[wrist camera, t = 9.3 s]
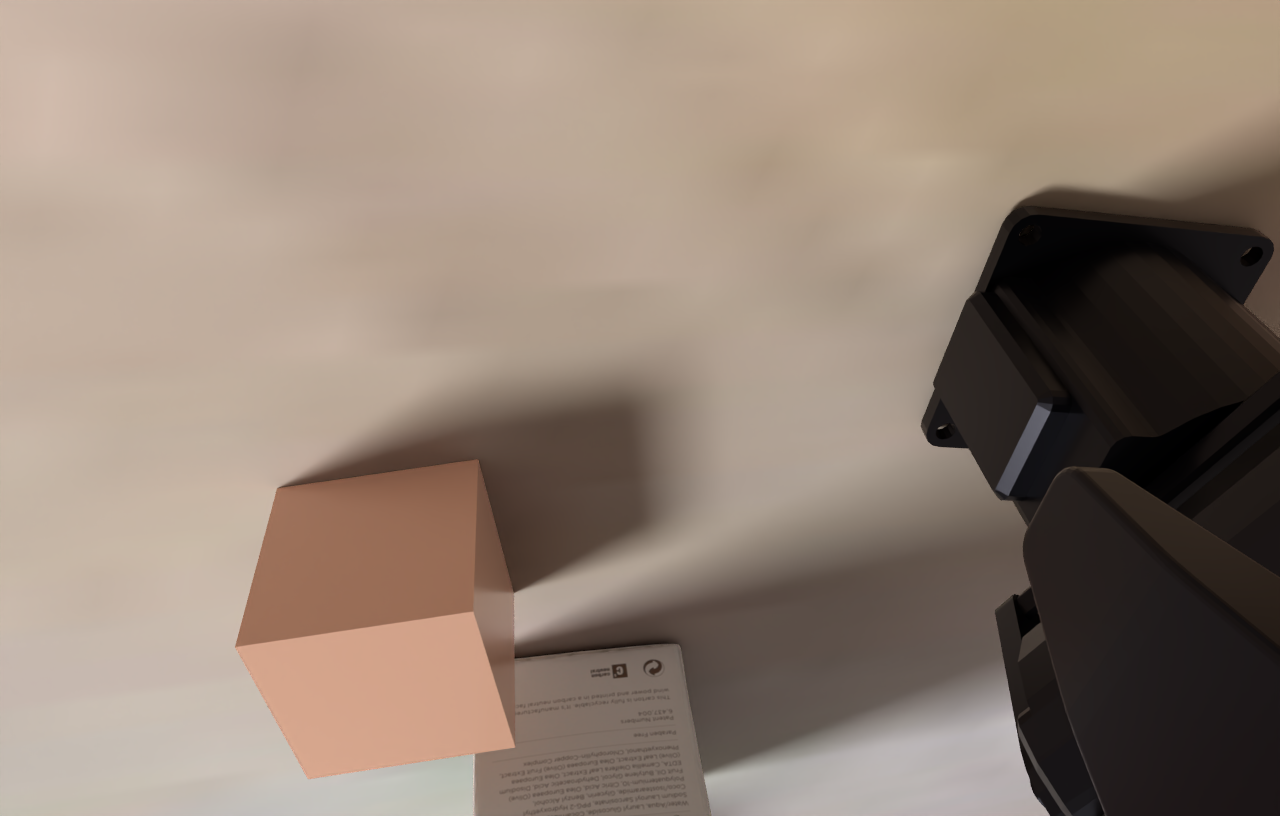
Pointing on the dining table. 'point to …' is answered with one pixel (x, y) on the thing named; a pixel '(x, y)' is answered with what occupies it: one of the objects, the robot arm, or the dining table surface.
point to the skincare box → (597, 739)
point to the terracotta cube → (384, 620)
